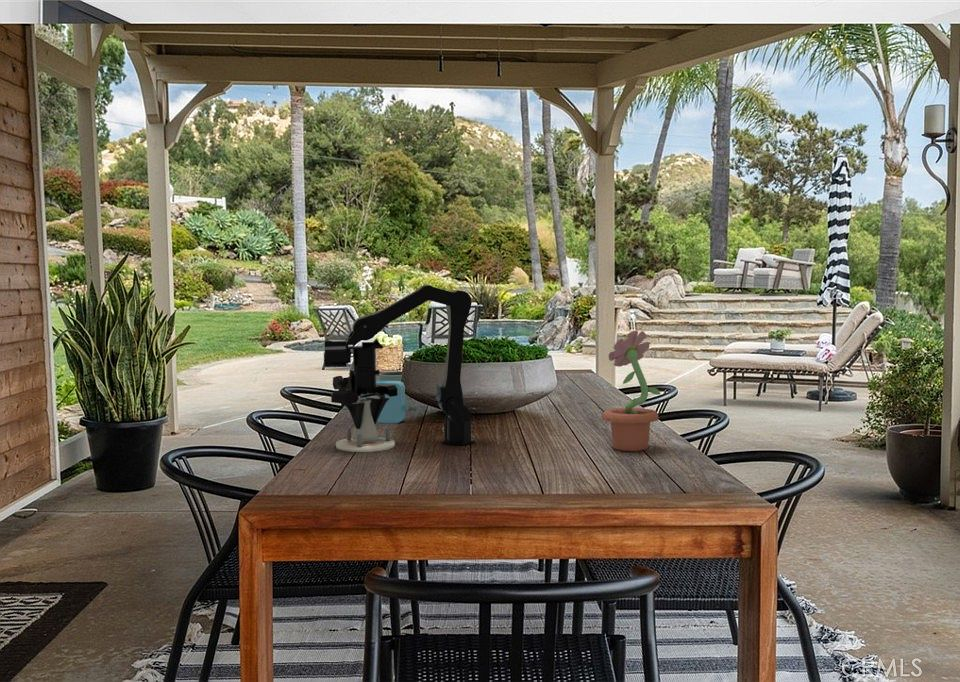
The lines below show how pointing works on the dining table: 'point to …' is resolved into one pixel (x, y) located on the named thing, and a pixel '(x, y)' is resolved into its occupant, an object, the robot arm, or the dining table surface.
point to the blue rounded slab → (393, 404)
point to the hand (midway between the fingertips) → (365, 427)
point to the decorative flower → (629, 421)
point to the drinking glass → (394, 377)
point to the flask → (366, 424)
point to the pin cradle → (365, 443)
